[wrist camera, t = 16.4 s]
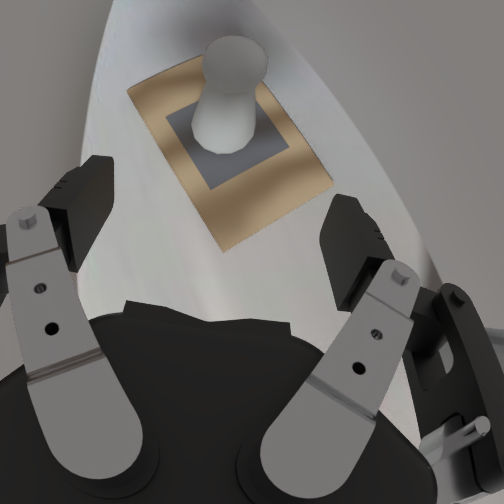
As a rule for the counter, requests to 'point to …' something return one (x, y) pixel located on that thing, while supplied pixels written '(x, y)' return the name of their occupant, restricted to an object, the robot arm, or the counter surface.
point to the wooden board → (230, 157)
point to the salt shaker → (229, 94)
